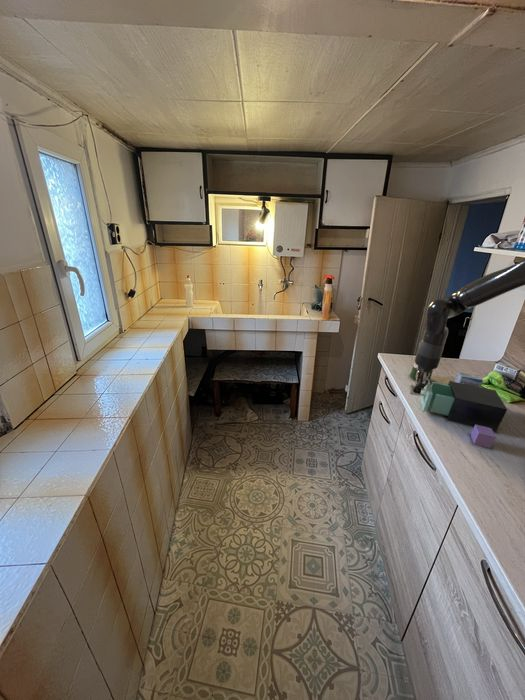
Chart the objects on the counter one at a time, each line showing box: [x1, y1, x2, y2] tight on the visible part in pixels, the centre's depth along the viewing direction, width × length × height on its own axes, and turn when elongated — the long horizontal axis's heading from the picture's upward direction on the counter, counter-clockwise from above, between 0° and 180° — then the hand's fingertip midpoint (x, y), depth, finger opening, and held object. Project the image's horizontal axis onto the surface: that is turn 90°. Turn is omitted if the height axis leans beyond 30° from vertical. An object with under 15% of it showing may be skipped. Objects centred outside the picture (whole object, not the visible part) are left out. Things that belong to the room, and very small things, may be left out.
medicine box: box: [454, 371, 484, 388], centre depth 115 cm, size 8×4×9 cm, turn 72°
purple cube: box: [470, 424, 497, 449], centre depth 90 cm, size 4×4×4 cm
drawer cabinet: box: [445, 380, 508, 433], centre depth 101 cm, size 15×13×10 cm
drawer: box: [408, 380, 455, 416], centre depth 105 cm, size 19×11×8 cm, turn 67°
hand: (416, 393), depth 107 cm, fingers closed
